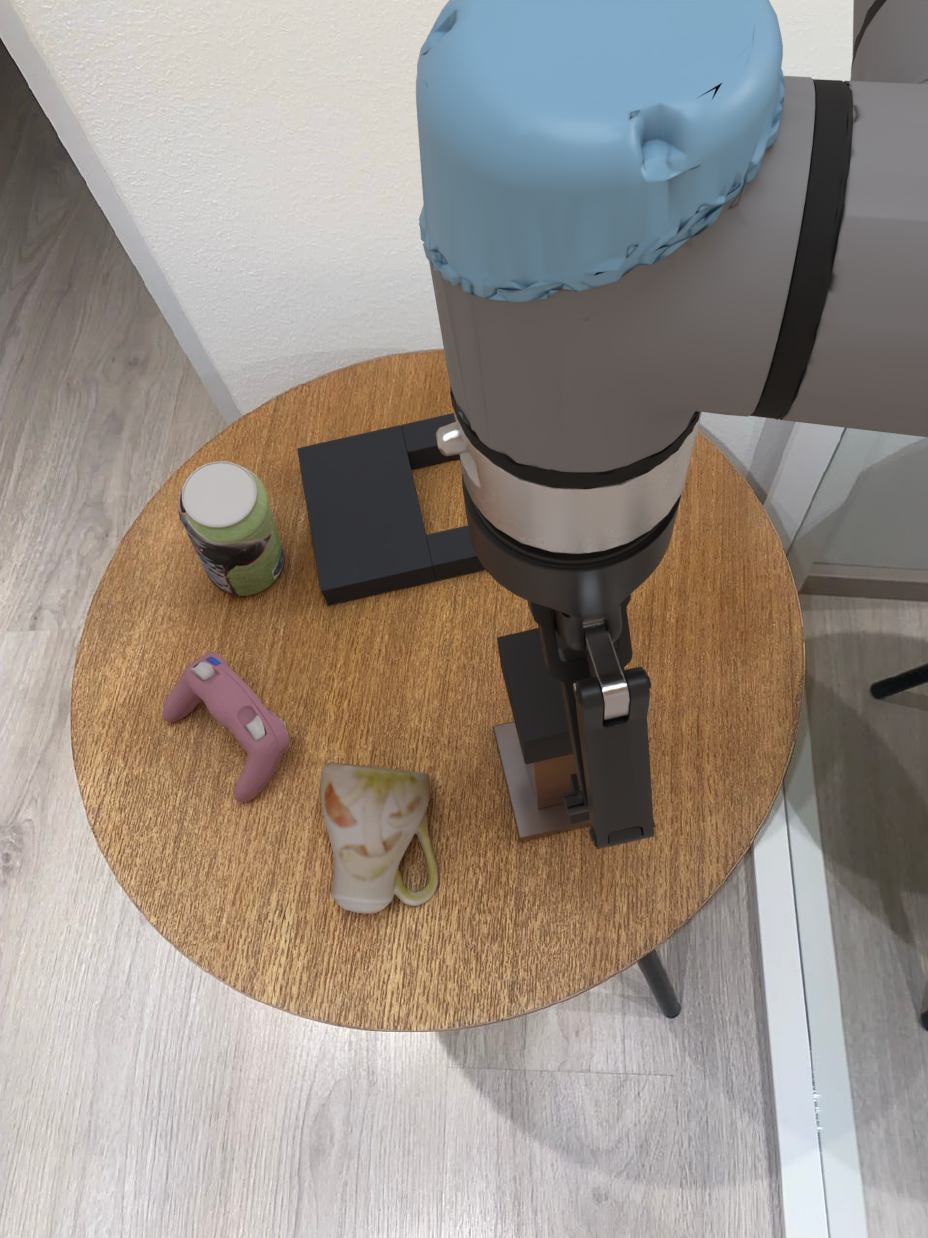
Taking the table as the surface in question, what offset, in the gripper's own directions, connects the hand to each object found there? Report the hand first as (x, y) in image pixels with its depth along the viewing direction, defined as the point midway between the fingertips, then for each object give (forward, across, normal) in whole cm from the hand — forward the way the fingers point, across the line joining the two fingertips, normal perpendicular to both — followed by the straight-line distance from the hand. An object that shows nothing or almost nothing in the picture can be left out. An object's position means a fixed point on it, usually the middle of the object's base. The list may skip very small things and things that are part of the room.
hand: (561, 687), depth 52 cm
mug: (+16, +2, -13) cm, 21 cm away
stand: (+16, 0, 0) cm, 16 cm away
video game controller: (+16, -8, -22) cm, 28 cm away
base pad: (+16, -23, -6) cm, 29 cm away
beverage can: (+16, -21, -19) cm, 33 cm away
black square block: (+2, 0, 0) cm, 2 cm away
